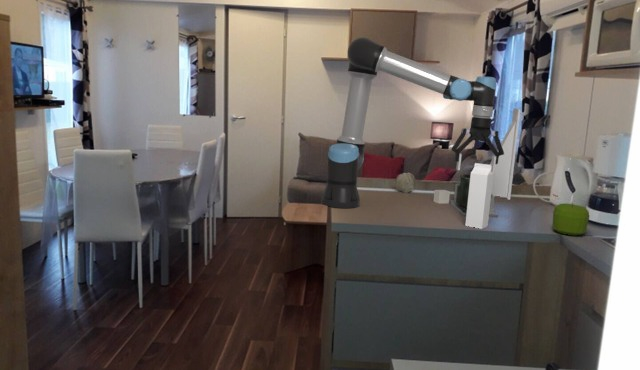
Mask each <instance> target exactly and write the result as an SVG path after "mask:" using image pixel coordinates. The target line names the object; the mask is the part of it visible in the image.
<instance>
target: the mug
mask: <svg viewBox="0 0 640 370" xmlns="http://www.w3.org/2000/svg"><path fill="white" fill-rule="evenodd" d="M470 175H471V174H465V173H464V174H460V175H459V177H460V181H459V182H460V191H459V201H458V203H459V205H460V206H463V207H467V204H468V194H469V185H470Z"/></svg>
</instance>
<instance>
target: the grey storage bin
mask: <svg viewBox="0 0 640 370" xmlns="http://www.w3.org/2000/svg"><path fill="white" fill-rule="evenodd" d="M454 185H455V186H454V193H453V199H449V203H448V204H449V205H451V206H452V207H453V208H454V209H456V210H457V211H458V212H459V213H461V215H462V216H465V217H466V214H467V207H463V206H460V205H459V203H458V201H459V191H460V181H459V182H457V183H455V184H454ZM495 198H496V197H495V196H494V195H493V194H491V201H490V210H489V218H498V217H499V214H498V213H496V212H495V211H494V210H495V209H494V208H495Z"/></svg>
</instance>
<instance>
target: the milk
mask: <svg viewBox="0 0 640 370" xmlns="http://www.w3.org/2000/svg"><path fill="white" fill-rule="evenodd" d="M491 168H492V166H491V165H490V164H485V163H478V162H475V163H474V167H473V169H472V171H470V174H469V175H470V185H469V194H468V204H467V214H466V216H465V227H468V226H469V227H468V228H473V227H475V228H474V229H478V228H479V230H483V229H485V228H487V227H488V226H489V219H490V217H489V210H490V201H491V192H492V183H493V172H492V170H491Z"/></svg>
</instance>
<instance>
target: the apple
mask: <svg viewBox="0 0 640 370" xmlns="http://www.w3.org/2000/svg"><path fill="white" fill-rule="evenodd" d="M589 220H590V211H589V210H588V209H587V208H586V207H585V206H583V205H577V204H573V203H560V204H557V205H556V206H554V209H553V215H552V225H551V226H552V227H551V228H552V229H554V230H555V231H556V232H558V233H559V234H561V233H562V235H566V234H568V236H579V235H582V234H586V232H587V228H588V223H589Z"/></svg>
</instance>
